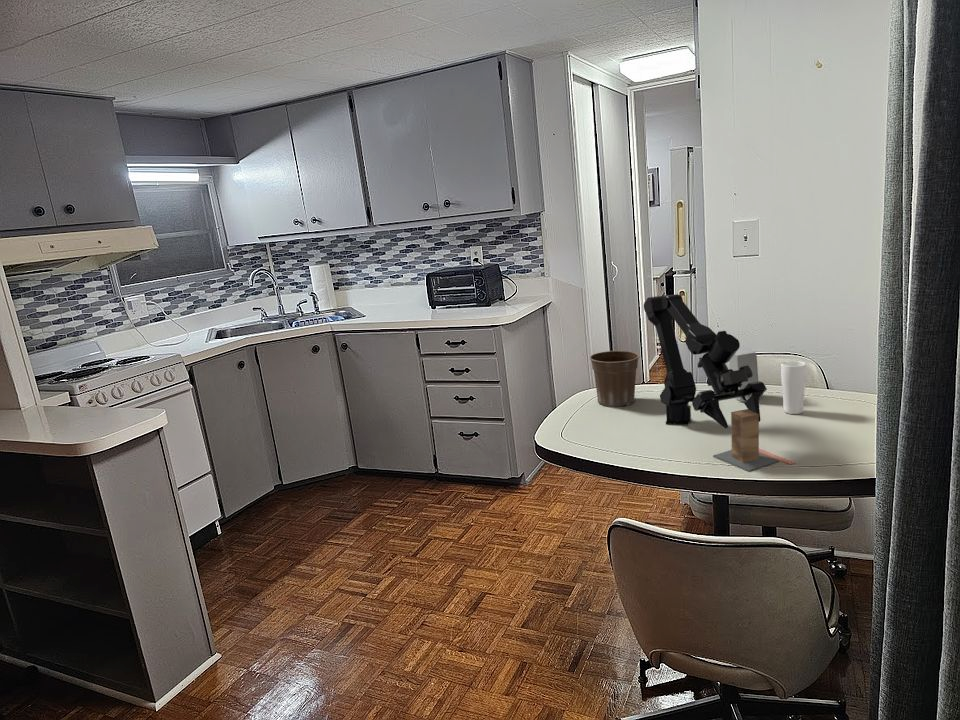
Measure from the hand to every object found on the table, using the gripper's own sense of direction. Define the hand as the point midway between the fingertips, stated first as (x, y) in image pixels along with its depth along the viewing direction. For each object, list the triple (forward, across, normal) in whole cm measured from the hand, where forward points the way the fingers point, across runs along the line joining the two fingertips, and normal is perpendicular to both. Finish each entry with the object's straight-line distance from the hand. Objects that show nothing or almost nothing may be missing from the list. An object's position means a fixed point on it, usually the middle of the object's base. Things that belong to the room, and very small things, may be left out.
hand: (743, 424), depth 168 cm
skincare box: (-23, +29, +37) cm, 52 cm away
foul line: (+6, +6, +7) cm, 11 cm away
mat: (+7, 0, +6) cm, 9 cm away
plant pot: (-35, -7, +49) cm, 61 cm away
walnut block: (+7, 0, +6) cm, 9 cm away
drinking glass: (-10, +33, +23) cm, 42 cm away
